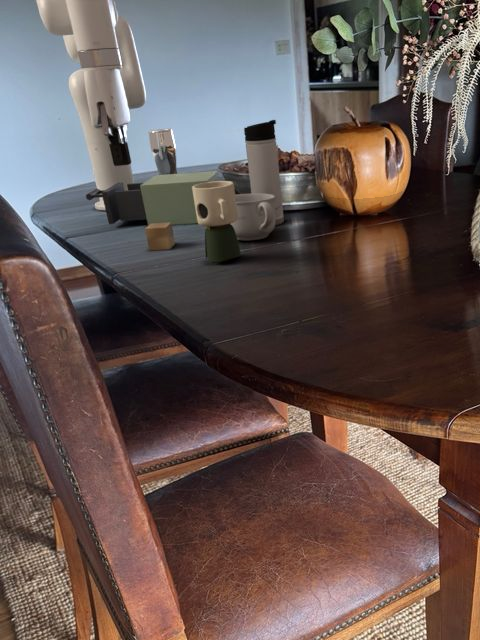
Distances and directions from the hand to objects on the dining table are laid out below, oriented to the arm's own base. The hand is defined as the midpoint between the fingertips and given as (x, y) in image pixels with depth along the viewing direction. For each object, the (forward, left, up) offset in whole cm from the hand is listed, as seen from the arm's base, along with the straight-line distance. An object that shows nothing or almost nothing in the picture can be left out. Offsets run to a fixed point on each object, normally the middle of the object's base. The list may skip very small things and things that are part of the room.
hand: (122, 164), depth 131 cm
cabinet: (-3, +16, -14) cm, 22 cm away
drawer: (-13, +8, -13) cm, 20 cm away
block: (+14, -3, -14) cm, 20 cm away
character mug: (+33, -3, -14) cm, 36 cm away
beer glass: (-44, +41, -14) cm, 62 cm away
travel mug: (+20, +21, -14) cm, 32 cm away
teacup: (+27, +10, -14) cm, 32 cm away
